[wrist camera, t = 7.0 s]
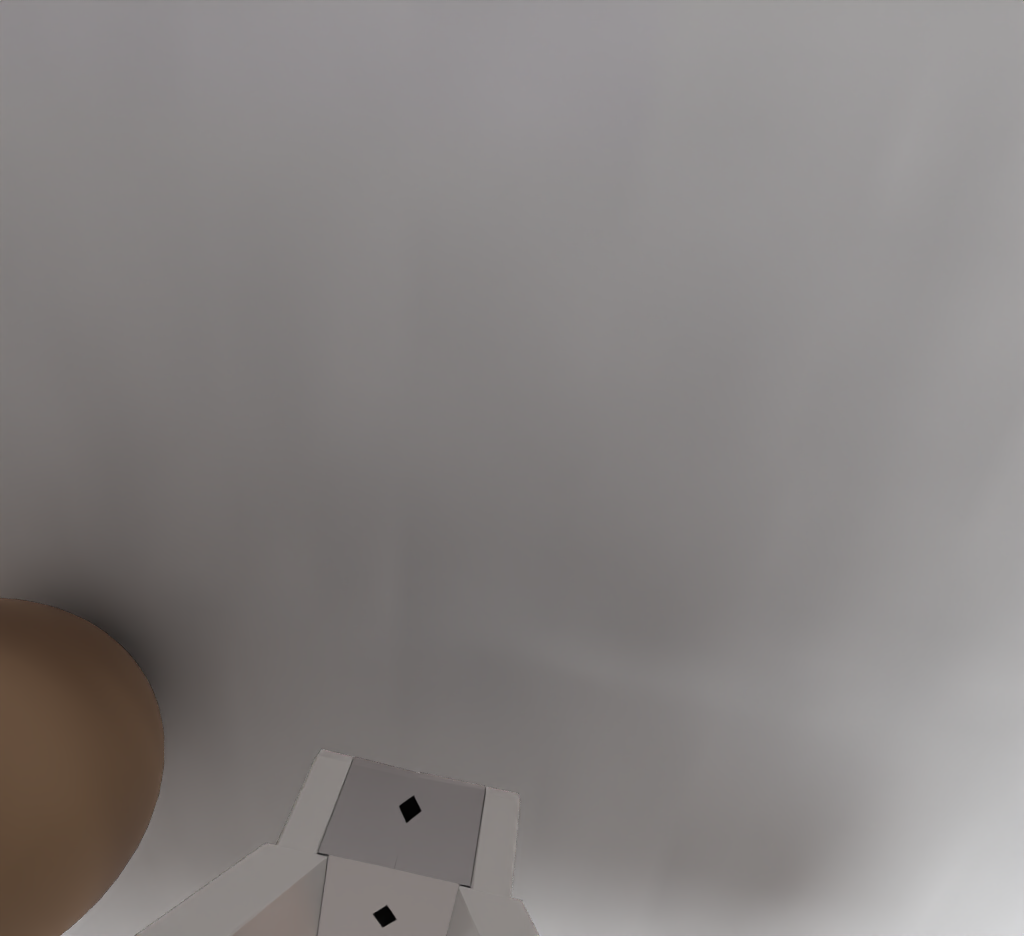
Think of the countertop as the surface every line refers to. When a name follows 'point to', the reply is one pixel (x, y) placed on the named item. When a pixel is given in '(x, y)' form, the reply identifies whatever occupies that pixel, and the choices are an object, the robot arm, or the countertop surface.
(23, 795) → the ball
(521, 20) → the countertop surface
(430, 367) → the countertop surface
